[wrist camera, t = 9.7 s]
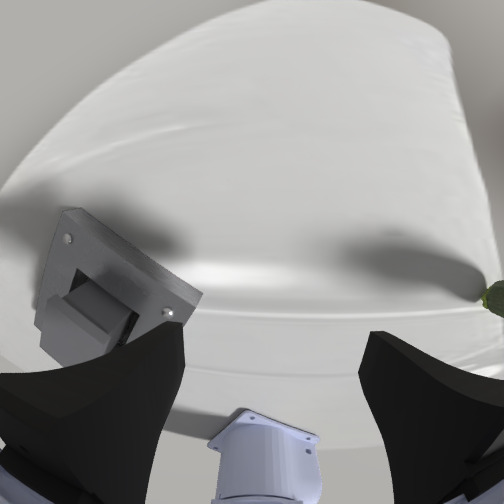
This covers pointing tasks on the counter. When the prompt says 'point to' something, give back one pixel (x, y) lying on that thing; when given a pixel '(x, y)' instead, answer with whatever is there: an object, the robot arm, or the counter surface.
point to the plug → (83, 324)
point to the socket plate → (113, 274)
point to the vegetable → (495, 298)
